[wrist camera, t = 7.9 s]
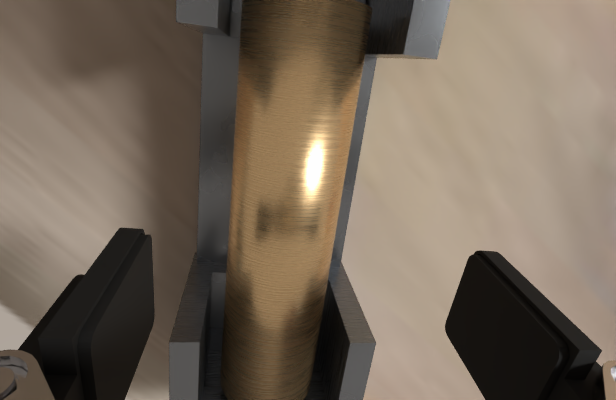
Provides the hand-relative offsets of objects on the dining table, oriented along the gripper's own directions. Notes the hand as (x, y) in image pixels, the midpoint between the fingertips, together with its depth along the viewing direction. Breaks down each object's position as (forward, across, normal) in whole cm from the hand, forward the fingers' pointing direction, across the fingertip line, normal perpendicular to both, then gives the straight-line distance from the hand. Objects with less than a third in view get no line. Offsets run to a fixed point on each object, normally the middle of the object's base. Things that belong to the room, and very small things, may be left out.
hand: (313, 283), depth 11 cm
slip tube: (+6, +1, 0) cm, 6 cm away
